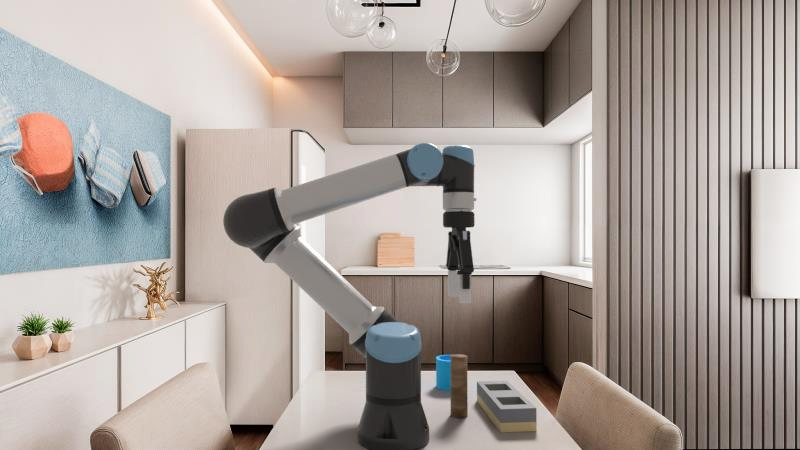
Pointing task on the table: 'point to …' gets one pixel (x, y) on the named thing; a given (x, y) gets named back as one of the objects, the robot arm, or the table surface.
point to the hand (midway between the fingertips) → (459, 300)
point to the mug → (443, 372)
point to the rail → (506, 406)
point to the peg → (459, 386)
